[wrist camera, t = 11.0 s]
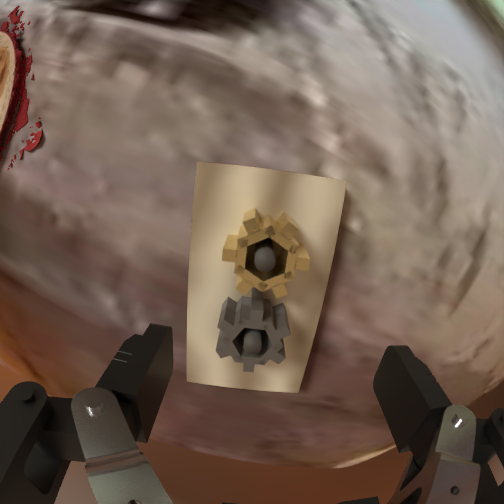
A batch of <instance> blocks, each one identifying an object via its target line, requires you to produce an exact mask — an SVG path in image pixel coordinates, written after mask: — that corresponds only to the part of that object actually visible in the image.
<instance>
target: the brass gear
mask: <svg viewBox="0 0 504 504" xmlns="http://www.w3.org/2000/svg"><path fill="white" fill-rule="evenodd" d="M242 223H243V226H240V230H239V234H238V235H230V234H228V236H227V239H226V241H225V244H224V247H223V252H222V261H227V262H235V268H234V273H235V274H237V281H236V287H235V289H237V290H238V291H240V292H241V293H243V294H244V295H246V294H247V293H248V292H249V290H250V289H251V288H252V287H253V286H254V287H255V288H257V289H258V290H260V291H261V292H263V291H265V290H268V289H270V288H272V290H273V292H274V294H275V296H276V299H277V298H280V297H282V296H285V295H287V294H288V291H287V287H286V282H288V281H291V280H294V274H295V269H297V270H306V271H308V269H309V264H310V257H309V255H308V253H307V251H306V249H305V247H304V246H303V244H302V243H298V242H297V240H296V238H295V236H294V235H295V234H296V233H297V231H298V230H299V228H298V227H297V225H296V223H295V222H294V220H293V218H292V217H290V216H289V215H288V214H286V213H285V212H284V211H283V212H282V214H281V215H280V216H279V218H278V219H277V220H275V219H274V218H272V217H271V216H270V215H267V216H264V217H262V218H259V215H258V213H257V211H256V208H254V209H251V210H249V211H246V212H245V213H244V218H243V222H242ZM268 237H270V238H271V239H273V240H274V241H275V242H277V243H278V244H280V245H281V246H282V248H281V254H280V256H277V257H275V261H276V263H275V266H274V268H273V269H272V270H270V271H268V272H262V271H260V270H258V269H257V268H256V266H255V257H254V256H252V255H251V254H250V253H248V252H247V246H249V245H251V244H254V243H256V242H259V241H261V240H264V239H266V238H268Z"/></svg>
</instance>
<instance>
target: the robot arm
mask: <svg viewBox="0 0 504 504" xmlns="http://www.w3.org/2000/svg"><path fill="white" fill-rule="evenodd" d="M172 370H173V337H172V328H171V327H169V326H163V325H158V324H152V323H151V324H150V325H149V326H148V328H147V330H146V331H145V333H144V334H143V336H142V335H137V334H135V335H133V336H132V337H130V338H129V339H127V340H126V341H124V343H123V344H122V346H121V347H120V349H119V352H117V353H116V355H115V356H114V360H112V361H111V363H110V364H109V366H108V367H107V369H106V370H105V372H104V373H103V375H102V377H101V378H100V380H99V381H98V383H97V385H96V386H95V387H92V388H87V389H84V390H81V391H80V392H78V393H77V394H76V395H75V396H74V398H59V397H49V396H48V395H47V393H46V390H45V389H44V387H43V386H41V385H40V384H38V383H36V382H31V381H27V382H22V383H19V384H17V385H15V386H14V387H13V388H12V389H11V390H10V391H9V393H8V394H7V395H6V397H5V398H4V399H3V401H2V402H1V403H0V504H54V502H55V500H56V497H57V494H58V492H59V489H60V487H61V484H62V481H63V479H64V476H65V474H66V471H67V469H68V467H69V464H70V462H71V461H81V462H86V464H87V465H85V469H86V473H87V476H88V479H89V482H90V484H91V487H92V490H93V492H94V495H95V497H96V499H97V502H98V504H173V503H172V502H171V500H170V499H169V497H168V495H167V494H166V492H165V490H164V489H163V487H162V485H161V484H160V482H159V480H158V479H157V477H156V475H155V473H154V472H153V470H152V468H151V466H150V464H149V462H148V461H147V459H146V457H145V455H144V454H143V453H141V451H140V450H139V448H138V446H137V444H136V441H139V442H144V443H147V442H148V439H149V436H150V433H151V430H152V427H153V424H154V422H155V419H156V416H157V413H158V410H159V408H160V405H161V402H162V399H163V397H164V394H165V391H166V389H167V386H168V383H169V380H170V378H171V375H172ZM436 381H437V380H436V379H435V377H434V376H433V375H432V373H431V371H430V370H429V368H428V367H427V365H426V364H424V363H423V362H422V361H421V360H419V359H418V358H417V357H415V355H414V354H413V352H412V351H411V350H410V348H409V347H408V346H406V345H404V346H388V347H387V349H386V351H385V353H384V355H383V358H382V360H381V363H380V365H379V367H378V370H377V372H376V374H375V377H374V382H373V387H374V392H375V394H376V396H377V399H378V401H379V404H380V406H381V408H382V411H383V413H384V416H385V418H386V421H387V423H388V426H389V428H390V431H391V433H392V436H393V438H394V441H395V443H396V446H397V448H398V451H399V453H401V452H406V451H412V453H413V454H412V455H411V457H410V458H409V460H408V462H407V465H406V467H405V470H404V472H403V474H402V477H401V479H400V481H399V483H398V486H397V488H396V490H395V492H394V494H393V496H392V498H391V499H390V500H389V502H388V503H387V504H504V481H503V483H502V484H501V485H499V486H498V485H497V483H496V481H495V478H494V476H493V474H492V471H491V469H490V467H489V465H488V462H489V461H490V460H491V459H492V458H493V457H494V456H495V455H496V454H497V455H498V457H499V459H500V461H501V463H502V465H503V467H504V409H503V408H498V409H496V410H494V411H493V413H492V414H491V416H490V417H489V419H477V418H475V416H474V414H473V413H472V412H471V411H470V410H469V409H467V408H465V407H463V406H460V405H452V403H451V402H450V400H449V399H448V397H447V396H446V394H445V392H444V391H443V389H442V388H441V386H440V385H439V383H438V382H436ZM222 504H234V503H222ZM338 504H379V500H378V497H377V496H376V497H371V498H365V499H359V500H352V501H345V502H341V503H338Z"/></svg>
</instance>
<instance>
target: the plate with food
mask: <svg viewBox="0 0 504 504" xmlns="http://www.w3.org/2000/svg"><path fill="white" fill-rule="evenodd" d="M18 8H19V6H17V7H16V8H15V9H14V10H13V11H12V12H11V13H10V14H9V16H8V17H10V20H11V21H12V23H13V24H15V25H16V24H17V23H22V21H20V16H22V13H23V12H24V11H21V12H20V15H19V16H18V17H17V16H16V12H17V11H18ZM9 12H10V11H9ZM10 15H11V16H10ZM24 24H25V23H24ZM24 24H23V23H22V24H21V26H20V28H21V27H22V28H23V29H22V31H24V27H23V25H24ZM29 24H30V22H29V23H28V25H29ZM8 25H9V23H8ZM8 25H7V21H6V22H4V23H3V24H2V26H1V30H0V149H1V151H0V152H2V151H3V150H4V149H6V146H5V147H3V146H1V145H2V144H3V141H4V138H5V135H6V134H7V131H8V128H9V125H11V123H12V120H13V115H14V114H15V109H16V107H17V105H18V100H19V98H20V96H21V95H22V97H21V101H20V100H19V101H20V103H21V104H20V105H19V110H18V116H17V114H16V120H15V121H14V124H15V126H14V127H13V129H12V130H11V131H10V133H9V136H8V139H7V141H6V144H8V142H9V141H10V139H11V137H12V133H13V134H14V133H15V130H16V132H18V131H19V130H20V129H21V128H23V127H24V126H25V125H26V124H27V123H28V115H27V111H28V105H29V99H27V97H26V93H27V92H26V90H27V89H25V79H26V76H28V75H26V74H27V73H29V71H30V69H31V67H30V65H31V62H32V61H31V56H29V57H28V58H27V59H26V55H25V54H24V56H23V57H22V58H24V59H25V61H26V60H27V61H26V62H25V61H24V59H23V60H21V59H22V58H21V55H22V51H20V50H19V47H18V42H16V37H18V36H19V34H17V35H16V33H15V32H14V31H15V30H18V29H19V27H18V28H16V27H17V25H16V26H15V27H14V28H13V29H12V32H13V33H9V32H8V31H9V29H7V28H8V27H9V26H8ZM18 31H19V30H18ZM29 51H30V49H29ZM31 55H32V54H31ZM22 61H23V62H22ZM22 64H23V66H22ZM25 64H26V66H27V67H25ZM21 66H22V67H21ZM25 70H26V71H25ZM25 72H27V73H25ZM22 73H23V74H22ZM22 79H23V80H22ZM32 79H33V75H32V78H31V80H32ZM33 80H34V79H33ZM23 91H24V92H23ZM39 119H40V117H39ZM40 122H41V121H39V122H37V123H35V124H36V126H37V127H38V128H40V127H41V124H40ZM15 127H16V128H15ZM31 127H33V126H31ZM31 127H30V128H31ZM13 130H14V132H13ZM41 134H42V130H41V131H38V132H37V133H36V134H34V133H31V136H33V135H34V136H35V137H34V138H32V141H30V139H29V140H27V141H26V142H27V146H26V147H25V148H23V149H22V150H20V154H21V156H22V153H23V150H28V151H30V150H32V149H33V148H34V147H35V146H36V145H37V144H38V142H39V140H40V137H41ZM33 140H36V141H35V142H34V143H32V142H33ZM22 142H24V141H22ZM1 159H2V153H1V157H0V161H1ZM14 159H15V160H16V155H14ZM20 159H21V158H20ZM12 161H13V159H11V164H10V165H9V167H10V166H12ZM13 162H14V161H13ZM8 169H9V168H8Z"/></svg>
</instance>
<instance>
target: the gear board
mask: <svg viewBox="0 0 504 504" xmlns="http://www.w3.org/2000/svg"><path fill="white" fill-rule="evenodd" d="M346 183H347V182H346V181H342V180H337V179H331V178H325V177H319V176H313V175H307V174H301V173H294V172H287V171H280V170H273V169H265V168H257V167H249V166H240V165H230V164H220V163H209V162H197V168H196V178H195V189H194V200H193V213H192V226H191V241H190V258H189V279H188V307H187V381H188V382H194V383H201V384H207V385H215V386H222V387H231V388H240V389H250V390H261V391H275V392H293V393H298V392H299V388H300V385H301V382H302V379H303V375H304V372H305V368H306V365H307V361H308V358H309V354H310V351H311V347H312V344H313V340H314V336H315V332H316V329H317V325H318V321H319V317H320V313H321V309H322V305H323V300H324V296H325V292H326V288H327V283H328V279H329V274H330V270H331V265H332V260H333V255H334V251H335V246H336V241H337V235H338V230H339V225H340V219H341V214H342V208H343V202H344V196H345V190H346ZM254 208H256V211H257V213H258V215H259V218H262V217H264V216H267V215H270V216H271V217H272V218H274V219H275V220H277V219H278V218H279V216H280V215H281V214H282V212H283V211H284V212H285V213H286V214H288V215H289V216H290V217H292V218H293V220H294V222H295V223H296V225H297V227H298V228H299V230H298V231H297V233H296V234H295V235H294V236H295V238H296V240H297V242H298V243H302V244H303V246H304V247H305V249H306V251H307V253H308V255H309V257H310V264H309V269H308V271H306V270H297V269H295V274H294V280H291V281H288V282H286V287H287V291H288V294H287V295H285V296H282V297H280V298H277V299H276V296H275V294H274V292H273V290H272V288H270V289H268V290H265V291H263V292H261V291H260V290H258V289H257V288H255V287H254V286H253V287H252V288H251V289H250V290H249V292H248V293H247V294H246V295H244V294H243V293H241V292H240V291H238V290H237V289H235V287H236V281H237V274H235V273H234V268H235V262H227V261H222V252H223V247H224V244H225V241H226V239H227V236H228V234H230V235H238V234H239V230H240V226H243V223H242V222H243V218H244V213H245V212H246V211H249V210H251V209H254ZM281 248H282V246H281V245H280V244H278V243H277V242H275V241H274V240H273V239H271V238H270V237H268V238H266V239H264V240H261V241H259V242H256V243H254V244H251V245H249V246H247V252H248V253H250V254H251V255H252V256H254V257H255V266H256V268H257V269H258V270H260V271H262V272H268V271H270V270H272V269H273V268H274V266H275V263H276V261H275V257H277V256H280V254H281Z"/></svg>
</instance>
